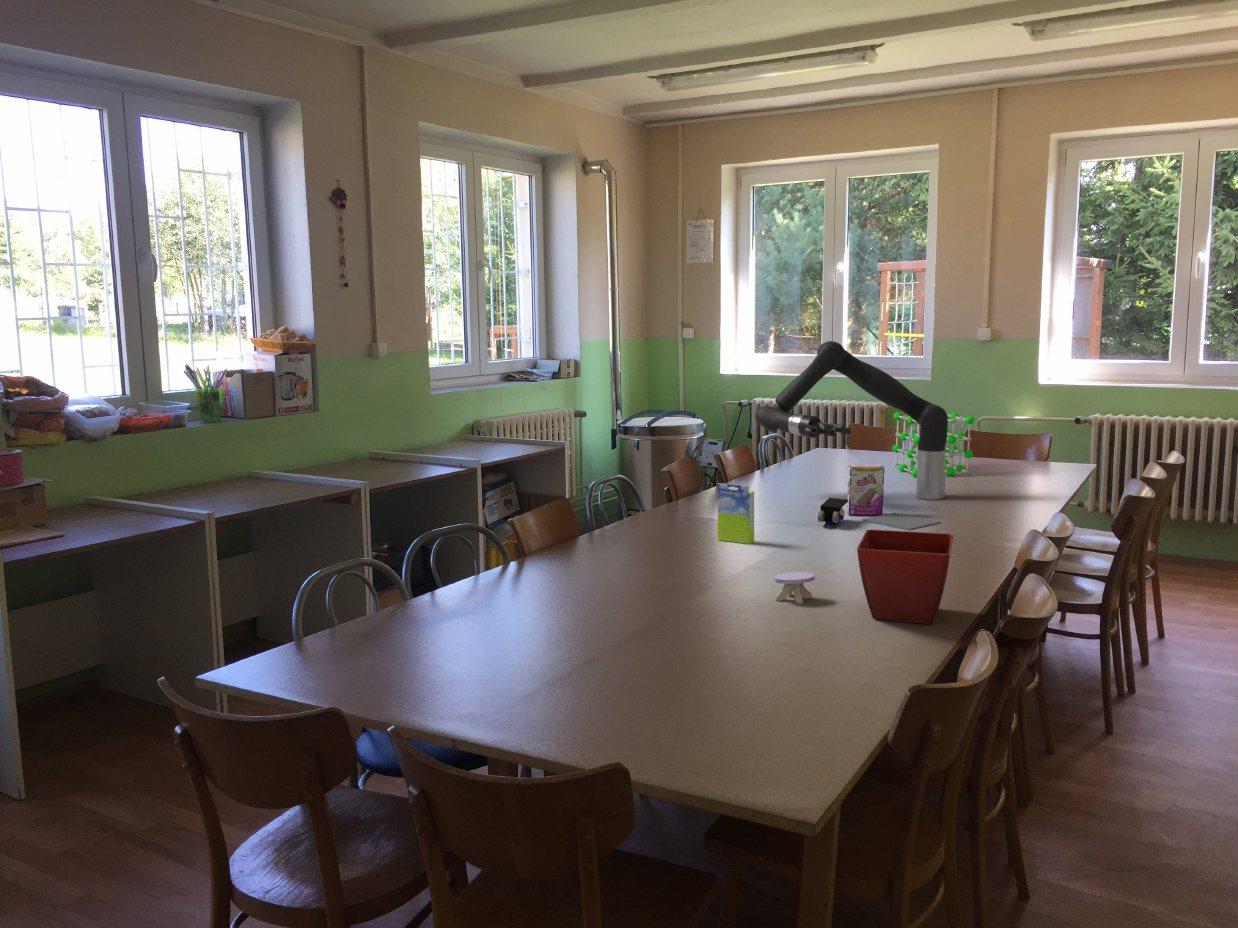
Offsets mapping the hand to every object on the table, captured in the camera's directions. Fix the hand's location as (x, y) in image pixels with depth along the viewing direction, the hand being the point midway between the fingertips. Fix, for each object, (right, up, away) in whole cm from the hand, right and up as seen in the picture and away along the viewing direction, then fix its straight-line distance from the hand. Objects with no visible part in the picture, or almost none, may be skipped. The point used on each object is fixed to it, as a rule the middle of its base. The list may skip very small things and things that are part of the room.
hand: (842, 432), depth 325 cm
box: (-40, -34, -38) cm, 65 cm away
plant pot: (-11, -44, -108) cm, 117 cm away
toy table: (-33, -43, -95) cm, 110 cm away
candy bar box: (+6, -27, -4) cm, 29 cm away
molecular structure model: (+54, -14, +76) cm, 94 cm away
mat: (+15, -29, -16) cm, 36 cm away
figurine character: (-7, -30, -17) cm, 35 cm away
